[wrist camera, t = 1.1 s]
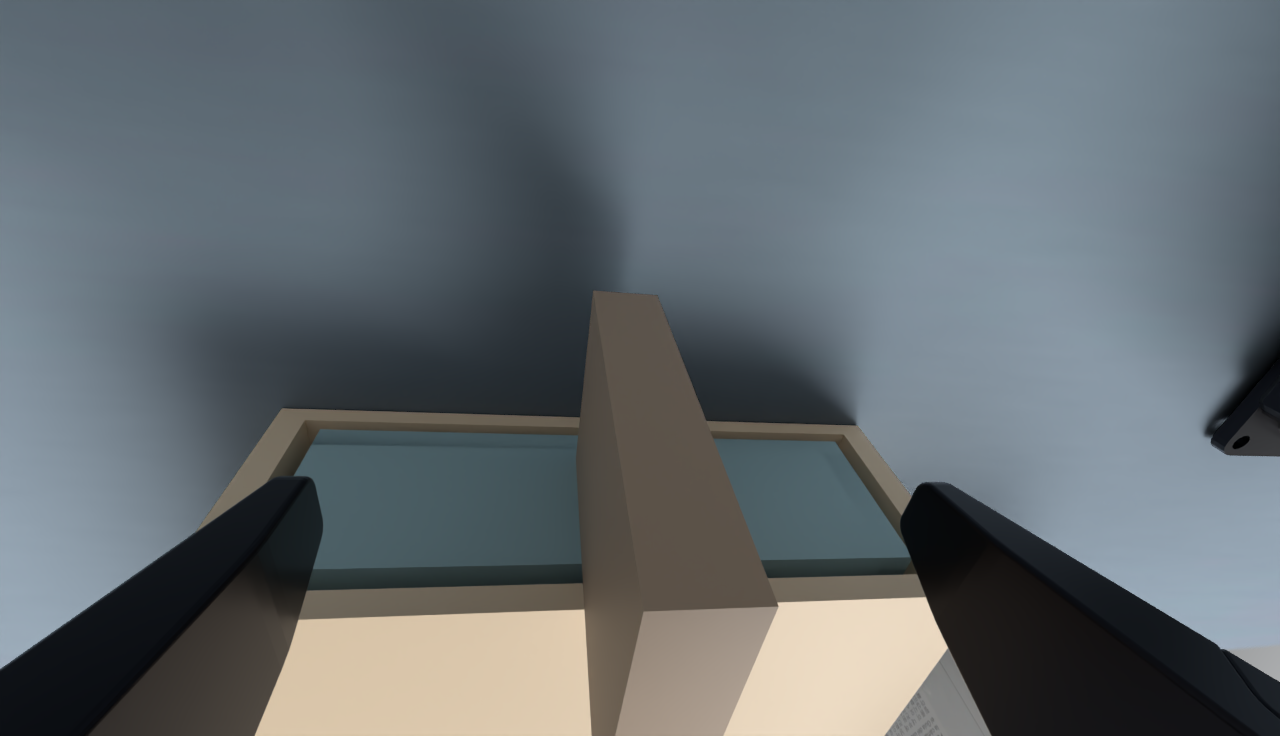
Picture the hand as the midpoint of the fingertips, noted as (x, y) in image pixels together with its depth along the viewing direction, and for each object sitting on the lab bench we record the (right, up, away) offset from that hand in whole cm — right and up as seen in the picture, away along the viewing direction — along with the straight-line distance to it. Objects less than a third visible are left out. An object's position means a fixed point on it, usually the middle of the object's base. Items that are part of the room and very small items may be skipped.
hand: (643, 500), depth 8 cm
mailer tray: (-2, -4, +7) cm, 8 cm away
